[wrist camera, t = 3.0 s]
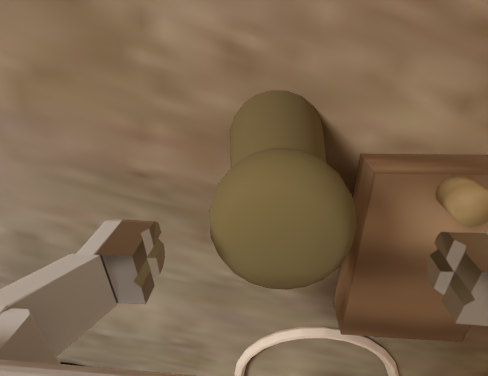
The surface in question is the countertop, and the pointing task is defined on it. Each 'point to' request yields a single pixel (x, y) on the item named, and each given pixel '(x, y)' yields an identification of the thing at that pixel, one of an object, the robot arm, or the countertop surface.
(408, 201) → the plane block
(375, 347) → the hand towel holder
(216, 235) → the cork
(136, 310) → the countertop surface
